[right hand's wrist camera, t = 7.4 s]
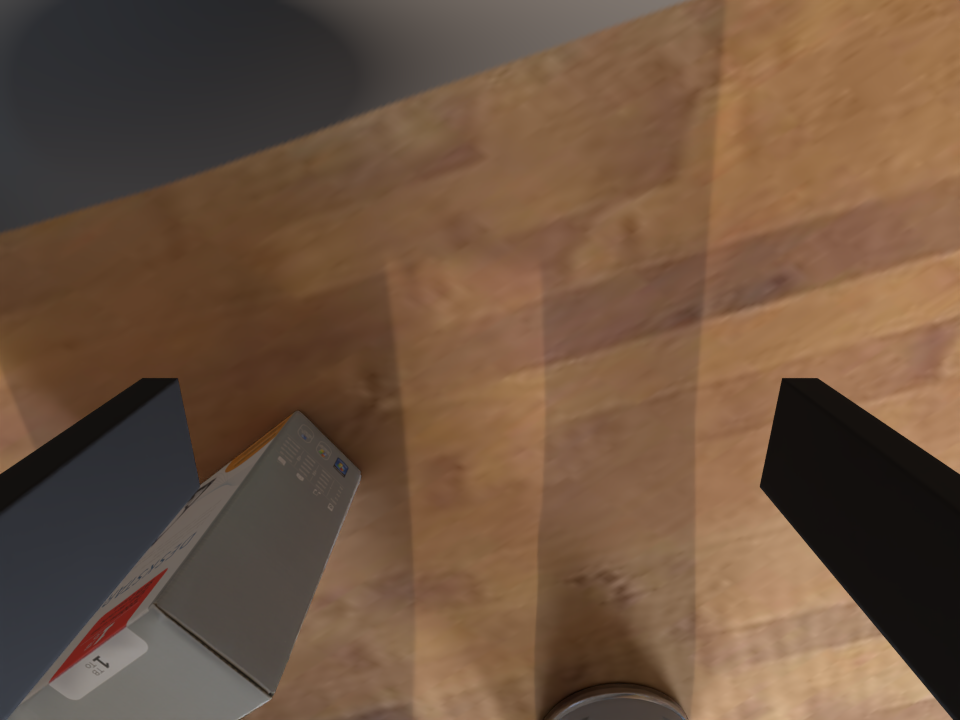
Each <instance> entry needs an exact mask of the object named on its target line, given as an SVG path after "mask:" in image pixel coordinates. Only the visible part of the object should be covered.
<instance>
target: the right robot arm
mask: <svg viewBox="0 0 960 720" xmlns="http://www.w3.org/2000/svg"><path fill="white" fill-rule="evenodd" d="M199 488H200V483H199V478H198V473H197V469H196V464H195V459H194V454H193V449H192V444H191V440H190V435H189V430H188V425H187V420H186V415H185V411H184V406H183V401H182V396H181V391H180V386H179V382H178V378H142V379H141V380H139V381H138V382H136V383H135V384H133V385H132V386H130V387H129V388H127V389H126V390H124V391H123V392H121V393H120V394H118V395H117V396H115V397H114V398H113V399H111V400H110V401H108V402H107V403H105V404H104V405H102V406H101V407H99V408H98V409H96V410H95V411H93V412H92V413H90V414H89V415H87V416H86V417H84V418H83V419H81V420H80V421H79V422H77V423H76V424H74V425H73V426H71V427H70V428H68V429H67V430H65V431H64V432H62V433H61V434H59V435H58V436H56V437H55V438H53V439H52V440H50V441H49V442H47V443H46V444H44V445H43V446H42V447H40V448H39V449H37V450H36V451H34V452H33V453H31V454H30V455H28V456H27V457H25V458H24V459H22V460H21V461H19V462H18V463H16V464H15V465H13V466H12V467H10V468H9V469H7V470H6V471H5V472H3V473H2V474H0V720H7V719H8V718H9V716H10V715H11V714H12V713H13V712H14V710H15V709H16V708H17V707H18V706H19V704H20V703H21V702H22V701H23V700H24V698H25V697H26V696H27V695H28V694H29V692H30V691H31V690H32V689H33V688H34V686H35V685H36V684H37V683H38V682H39V680H40V679H41V678H42V677H43V676H44V674H45V673H46V672H47V671H48V670H49V668H50V667H51V666H52V665H53V664H54V662H55V661H56V660H57V659H58V657H59V656H60V655H61V654H62V653H63V651H64V650H65V649H66V648H67V647H68V645H69V644H70V643H71V642H72V641H73V639H74V638H75V637H76V636H77V635H78V633H79V632H80V631H81V630H82V629H83V627H84V626H85V625H86V624H87V623H88V621H89V620H90V619H91V618H92V617H93V615H94V614H95V613H96V612H97V611H98V609H99V608H100V607H101V606H102V605H103V603H104V602H105V601H106V600H107V599H108V597H109V596H110V595H111V594H112V592H113V591H114V590H115V589H116V588H117V586H118V585H119V584H120V583H121V582H122V580H123V579H124V578H125V577H126V576H127V574H128V573H129V572H130V571H131V570H132V568H133V567H134V566H135V565H136V564H137V562H138V561H139V560H140V559H141V558H142V556H143V555H144V554H145V553H146V552H147V550H148V549H149V548H150V547H151V546H152V544H153V543H154V542H155V541H156V540H157V538H158V537H159V536H160V535H161V534H162V532H163V531H164V530H165V529H166V527H167V526H168V525H169V524H170V523H171V521H172V520H173V519H174V518H175V517H176V515H177V514H178V513H179V512H180V511H181V509H182V508H183V507H184V506H185V505H186V503H187V502H188V501H189V500H190V499H191V497H192V496H193V495H194V494H195V493H196V491H197V490H198V489H199ZM760 488H761V489H762V490H763V491H764V493H765V494H766V495H767V496H768V497H769V499H770V500H771V501H772V502H773V503H774V505H775V506H776V507H777V508H778V509H779V511H780V512H781V513H782V514H783V515H784V517H785V518H786V519H787V520H788V521H789V523H790V524H791V525H792V526H793V527H794V529H795V530H796V531H797V532H798V534H799V535H800V536H801V537H802V538H803V540H804V541H805V542H806V543H807V544H808V546H809V547H810V548H811V549H812V550H813V552H814V553H815V554H816V555H817V556H818V558H819V559H820V560H821V561H822V562H823V564H824V565H825V566H826V567H827V568H828V570H829V571H830V572H831V573H832V574H833V576H834V577H835V578H836V579H837V580H838V582H839V583H840V584H841V585H842V586H843V588H844V589H845V590H846V591H847V592H848V594H849V595H850V596H851V597H852V599H853V600H854V601H855V602H856V603H857V605H858V606H859V607H860V608H861V609H862V611H863V612H864V613H865V614H866V615H867V617H868V618H869V619H870V620H871V621H872V623H873V624H874V625H875V626H876V627H877V629H878V630H879V631H880V632H881V633H882V635H883V636H884V637H885V638H886V639H887V641H888V642H889V643H890V644H891V645H892V647H893V648H894V649H895V650H896V651H897V653H898V654H899V655H900V656H901V657H902V659H903V660H904V661H905V662H906V664H907V665H908V666H909V667H910V668H911V670H912V671H913V672H914V673H915V674H916V676H917V677H918V678H919V679H920V680H921V682H922V683H923V684H924V685H925V686H926V688H927V689H928V690H929V691H930V692H931V694H932V695H933V696H934V697H935V698H936V700H937V701H938V702H939V703H940V704H941V706H942V707H943V708H944V709H945V710H946V712H947V713H948V714H949V715H950V716H951V718H952V719H953V720H960V474H958V473H957V472H955V471H954V470H953V469H951V468H950V467H948V466H947V465H945V464H944V463H942V462H941V461H939V460H938V459H936V458H935V457H933V456H932V455H930V454H929V453H927V452H926V451H924V450H923V449H921V448H920V447H918V446H917V445H916V444H914V443H913V442H911V441H910V440H908V439H907V438H905V437H904V436H902V435H901V434H899V433H898V432H896V431H895V430H893V429H892V428H890V427H889V426H887V425H886V424H884V423H883V422H881V421H880V420H879V419H877V418H876V417H874V416H873V415H871V414H870V413H868V412H867V411H865V410H864V409H862V408H861V407H859V406H858V405H856V404H855V403H853V402H852V401H850V400H849V399H847V398H846V397H845V396H843V395H842V394H840V393H839V392H837V391H836V390H834V389H833V388H831V387H830V386H828V385H827V384H825V383H824V382H822V381H821V380H819V379H818V378H782V382H781V386H780V391H779V396H778V401H777V406H776V411H775V415H774V420H773V425H772V430H771V435H770V440H769V444H768V449H767V454H766V459H765V464H764V469H763V473H762V478H761V483H760ZM544 720H688V718H687V716H686V714H685V712H684V711H683V709H682V708H681V707H680V706H679V705H678V704H677V703H676V702H675V701H674V700H673V699H671V698H670V697H669V696H667V695H665V694H664V693H661V692H659V691H657V690H654V689H652V688H649V687H645V686H640V685H634V684H606V685H600V686H595V687H591V688H587V689H584V690H582V691H579V692H577V693H574V694H573V695H571V696H569V697H567V698H565V699H564V700H562V701H561V702H560V703H558V704H557V705H556V706H555V707H554V708H552V709H551V711H550V712H549V713H548V714H547V715H546V717H545V718H544Z"/></svg>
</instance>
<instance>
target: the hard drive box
mask: <svg viewBox="0 0 960 720" xmlns="http://www.w3.org/2000/svg"><path fill="white" fill-rule="evenodd" d="M360 474H361V472H360V470H359V469H358V468H357V467H356V466H355V465H354V464H353V463H352V462H351V461H350V460H349V459H348V458H347V457H346V456H345V455H344V454H343V453H342V452H341V451H340V450H339V449H338V448H337V447H336V446H335V445H334V444H333V443H332V442H331V441H330V440H329V439H328V438H327V437H326V436H325V435H323V434H322V433H321V432H320V431H319V430H318V428H317V427H316V426H315V425H314V424H313V423H312V422H311V421H310V420H309V419H307V418H306V417H305V416H304V415H303V414H302V413H301V412H300V411H295V412H294V413H293V414H291V415H290V416H289V417H287V418H286V419H285V420H283V421H282V422H281V423H279V424H278V425H277V426H276V427H275V428H273V429H272V430H270V431H269V432H268V433H267V434H265V435H264V436H263V437H261V438H260V439H259V440H258V441H256V442H255V443H254V444H253V445H251V446H250V447H249V448H247V449H246V450H245V451H244V452H242V453H241V454H240V455H238V456H237V457H236V458H235V459H233V460H232V461H231V462H229V463H228V464H227V465H226V466H224V467H223V468H222V469H220V470H219V471H218V472H217V473H215V474H214V475H213V476H211V477H210V478H209V479H208V480H206V481H205V482H203V483H202V484H201V485H200V488H199V489H198V490H197V491H196V493H195V494H194V495H193V496H192V497H191V499H190V500H189V501H188V502H187V503H186V505H185V506H184V507H183V508H182V509H181V511H180V512H179V513H178V514H177V515H176V517H175V518H174V519H173V520H172V521H171V523H170V524H169V525H168V526H167V527H166V529H165V530H164V531H163V532H162V534H161V535H160V536H159V537H158V538H157V540H156V541H155V542H154V543H153V544H152V546H151V547H150V548H149V549H148V550H147V552H146V553H145V554H144V555H143V556H142V558H141V559H140V560H139V561H138V562H137V564H136V565H135V566H134V567H133V568H132V570H131V571H130V572H129V573H128V574H127V576H126V577H125V578H124V579H123V580H122V582H121V583H120V584H119V585H118V586H117V588H116V589H115V590H114V591H113V592H112V594H111V595H110V596H109V597H108V599H107V600H106V601H105V602H104V603H103V605H102V606H101V607H100V608H99V609H98V611H97V612H96V613H95V614H94V615H93V617H92V618H91V619H90V620H89V621H88V623H87V624H86V625H85V626H84V627H83V629H82V630H81V631H80V632H79V633H78V635H77V636H76V637H75V638H74V639H73V641H72V642H71V643H70V644H69V645H68V647H67V648H66V649H65V650H64V651H63V653H62V654H61V655H60V656H59V657H58V659H57V660H56V661H55V662H54V664H53V665H52V666H51V667H50V668H49V670H48V671H47V672H46V673H45V674H44V676H43V677H42V678H41V679H40V680H39V682H38V683H37V684H36V685H35V686H34V688H33V689H32V690H31V691H30V692H29V694H28V695H27V696H26V697H25V698H24V700H23V701H22V702H21V703H20V704H19V706H18V707H17V708H16V709H15V710H14V712H13V713H12V714H11V715H10V716H9V718H8V719H7V720H240V719H242V718H243V717H245V716H246V715H248V714H249V713H251V712H253V711H254V710H256V709H257V708H259V707H260V706H262V705H263V704H265V703H266V702H268V701H269V700H271V699H272V697H273V695H274V693H275V691H276V689H277V686H278V684H279V681H280V679H281V676H282V674H283V672H284V669H285V667H286V664H287V662H288V660H289V657H290V654H291V652H292V649H293V647H294V644H295V641H296V639H297V636H298V634H299V631H300V629H301V626H302V624H303V621H304V619H305V616H306V614H307V611H308V609H309V606H310V604H311V601H312V599H313V596H314V594H315V591H316V589H317V586H318V584H319V581H320V579H321V576H322V574H323V572H324V569H325V567H326V564H327V562H328V559H329V557H330V554H331V552H332V549H333V547H334V544H335V542H336V539H337V537H338V534H339V532H340V529H341V527H342V524H343V522H344V519H345V517H346V514H347V512H348V509H349V507H350V505H351V502H352V500H353V497H354V495H355V492H356V490H357V487H358V485H359V482H360V480H361V475H360Z"/></svg>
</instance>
